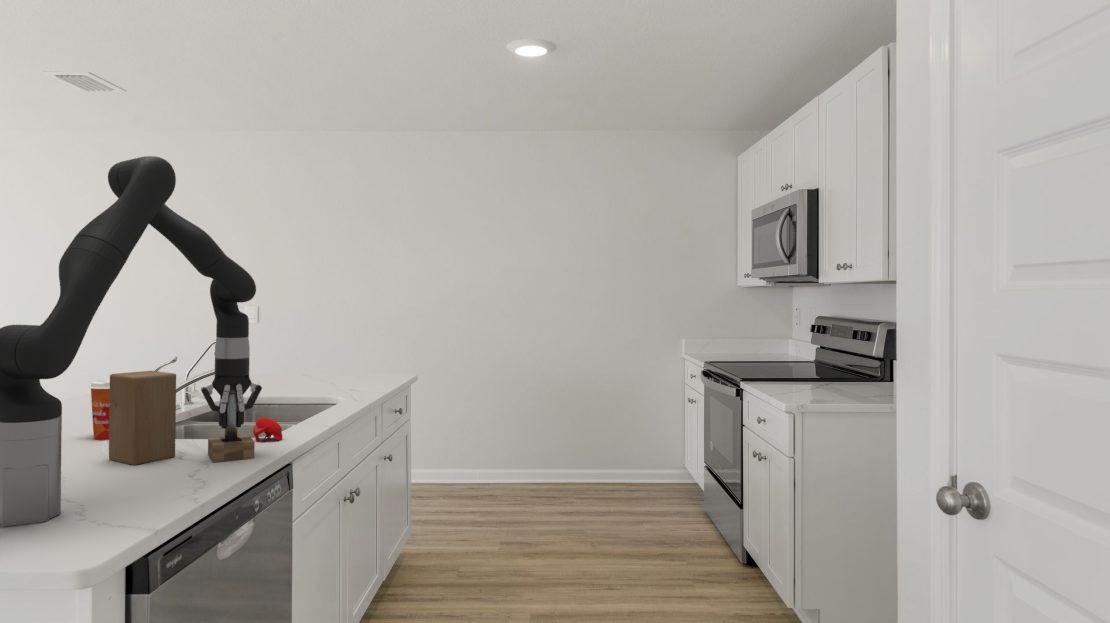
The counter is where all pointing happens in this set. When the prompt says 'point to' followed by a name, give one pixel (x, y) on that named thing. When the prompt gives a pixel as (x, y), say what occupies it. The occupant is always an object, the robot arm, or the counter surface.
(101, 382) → the coffee cup
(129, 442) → the wooden block
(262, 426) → the cap
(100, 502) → the counter surface
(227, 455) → the checkered wooden holder
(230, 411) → the grey metal cylinder
